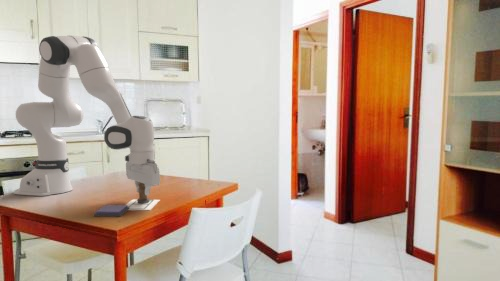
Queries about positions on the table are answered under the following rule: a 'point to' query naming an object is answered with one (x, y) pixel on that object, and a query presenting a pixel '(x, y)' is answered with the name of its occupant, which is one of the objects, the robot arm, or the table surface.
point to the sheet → (141, 205)
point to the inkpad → (111, 211)
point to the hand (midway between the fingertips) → (143, 193)
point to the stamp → (142, 194)
